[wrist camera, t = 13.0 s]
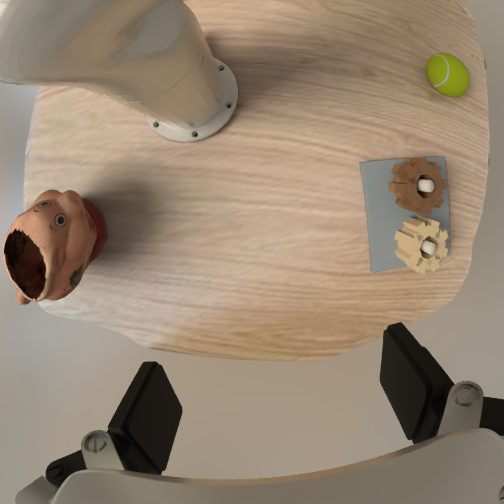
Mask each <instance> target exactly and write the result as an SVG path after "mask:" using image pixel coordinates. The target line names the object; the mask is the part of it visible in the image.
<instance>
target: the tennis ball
mask: <svg viewBox="0 0 504 504" xmlns="http://www.w3.org/2000/svg"><path fill="white" fill-rule="evenodd" d="M427 76H428V79H429V81H430V83H431V84H432V86H433V87H434V88H435V89H436V90H437V91H438V92H440V93H441V94H443V95H446V96H449V97H458V96H461V95H463V94H464V93H465V92H466V91H467V89H468V87H469V83H470V78H469V73H468V71H467V69H466V67H465V65H464V64H463V63H462V62H461V61H460V60H459V59H458V58H456V57H455V56H453V55H451V54H447V53H438V54H435V55H433V56H432V57H431V58H430V59H429V61H428V63H427Z"/></svg>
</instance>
